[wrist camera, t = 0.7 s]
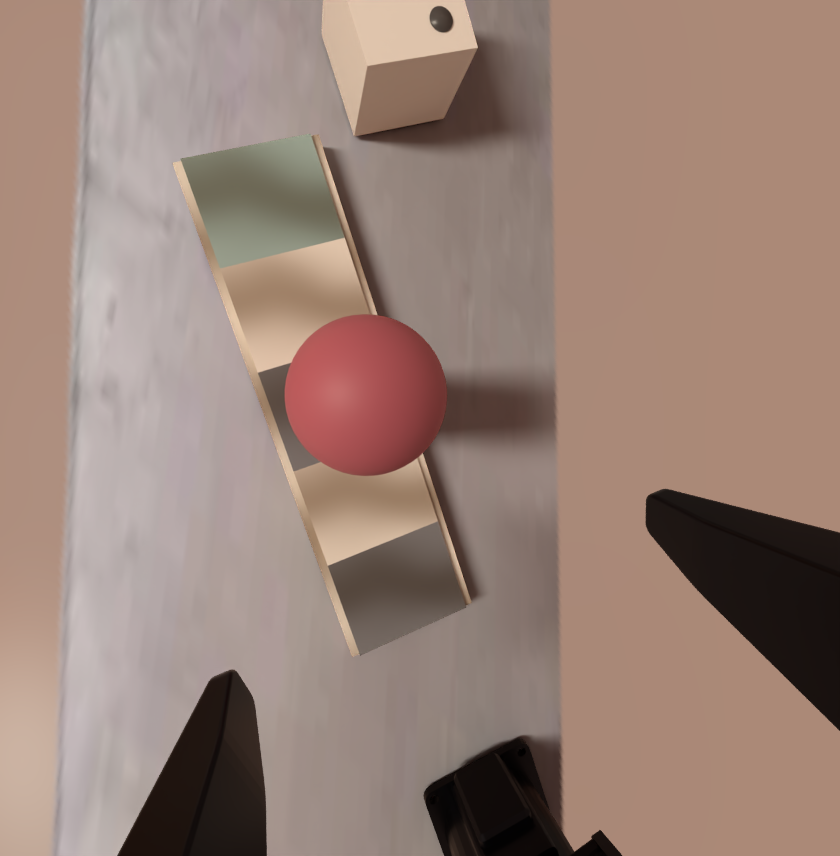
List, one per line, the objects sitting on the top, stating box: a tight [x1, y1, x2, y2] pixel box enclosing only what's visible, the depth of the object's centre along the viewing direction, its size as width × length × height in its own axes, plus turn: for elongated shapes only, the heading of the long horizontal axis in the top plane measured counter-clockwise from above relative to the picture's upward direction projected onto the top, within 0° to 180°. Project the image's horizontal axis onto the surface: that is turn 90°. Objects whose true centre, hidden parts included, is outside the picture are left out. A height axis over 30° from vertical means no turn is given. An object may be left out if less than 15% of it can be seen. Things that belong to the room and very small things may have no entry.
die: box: [322, 0, 478, 136], centre depth 21 cm, size 5×5×5 cm
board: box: [173, 134, 472, 657], centre depth 23 cm, size 25×7×1 cm, turn 19°
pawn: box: [285, 314, 447, 476], centre depth 16 cm, size 4×4×14 cm
